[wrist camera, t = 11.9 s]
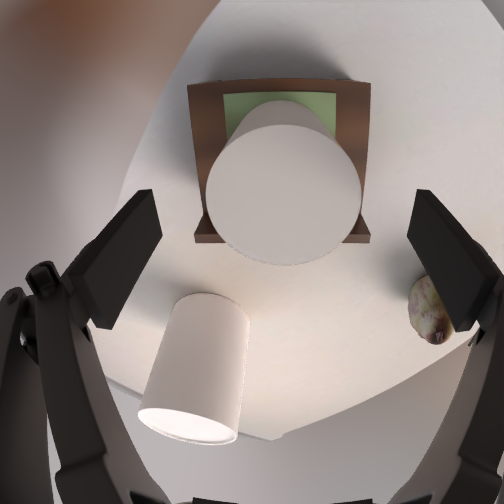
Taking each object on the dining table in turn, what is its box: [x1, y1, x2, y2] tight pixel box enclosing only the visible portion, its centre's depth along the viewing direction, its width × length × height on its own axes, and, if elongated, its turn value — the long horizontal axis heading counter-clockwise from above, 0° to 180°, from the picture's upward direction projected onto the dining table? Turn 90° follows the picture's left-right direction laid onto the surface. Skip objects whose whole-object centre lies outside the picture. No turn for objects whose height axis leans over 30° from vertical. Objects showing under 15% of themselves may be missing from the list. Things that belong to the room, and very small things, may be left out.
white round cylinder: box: [206, 100, 361, 265], centre depth 20 cm, size 8×8×12 cm
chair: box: [187, 78, 371, 243], centre depth 26 cm, size 14×16×10 cm
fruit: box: [408, 275, 454, 345], centre depth 36 cm, size 10×9×12 cm
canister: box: [138, 293, 250, 445], centre depth 41 cm, size 14×14×20 cm
